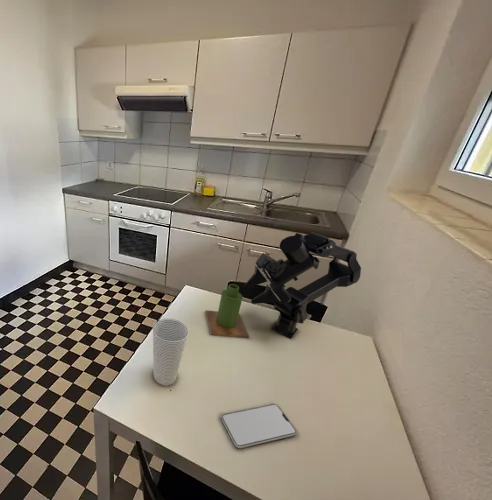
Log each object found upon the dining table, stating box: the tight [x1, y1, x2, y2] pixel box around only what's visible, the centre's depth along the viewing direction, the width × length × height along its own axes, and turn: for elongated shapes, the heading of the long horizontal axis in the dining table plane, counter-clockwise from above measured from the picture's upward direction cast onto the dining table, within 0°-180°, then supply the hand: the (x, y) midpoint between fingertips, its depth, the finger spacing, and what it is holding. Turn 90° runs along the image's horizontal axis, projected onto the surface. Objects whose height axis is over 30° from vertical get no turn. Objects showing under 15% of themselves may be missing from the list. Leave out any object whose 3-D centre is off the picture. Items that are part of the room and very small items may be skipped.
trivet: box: [204, 310, 250, 339], centre depth 95 cm, size 12×12×1 cm
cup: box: [152, 318, 189, 386], centre depth 70 cm, size 8×8×16 cm
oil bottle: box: [217, 283, 243, 328], centre depth 92 cm, size 6×6×14 cm
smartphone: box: [220, 403, 298, 449], centre depth 62 cm, size 7×1×15 cm
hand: (248, 294), depth 89 cm, fingers open, 9 cm apart
